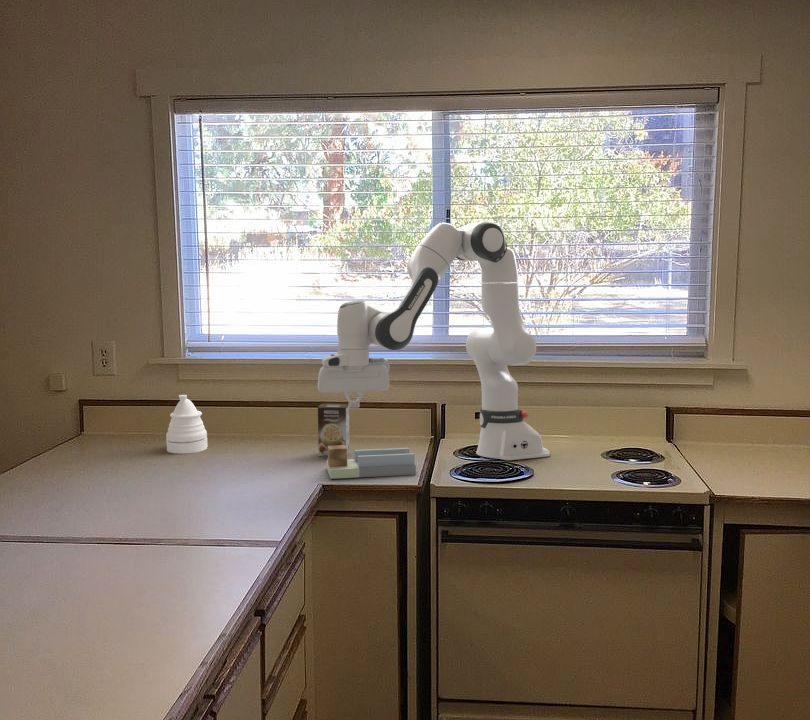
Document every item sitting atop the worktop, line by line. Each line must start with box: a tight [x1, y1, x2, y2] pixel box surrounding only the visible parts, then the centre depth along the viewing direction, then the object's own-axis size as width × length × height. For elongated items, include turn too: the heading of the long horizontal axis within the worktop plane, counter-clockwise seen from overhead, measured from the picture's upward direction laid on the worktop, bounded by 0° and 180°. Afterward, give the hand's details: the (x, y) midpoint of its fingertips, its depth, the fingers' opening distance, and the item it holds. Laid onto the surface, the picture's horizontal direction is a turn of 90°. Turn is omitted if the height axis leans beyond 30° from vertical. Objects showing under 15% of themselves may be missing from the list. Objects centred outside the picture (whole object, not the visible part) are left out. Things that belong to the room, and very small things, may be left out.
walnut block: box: [327, 445, 348, 467], centre depth 223 cm, size 5×5×5 cm
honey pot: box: [165, 394, 209, 455], centre depth 256 cm, size 13×13×18 cm
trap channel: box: [325, 447, 417, 480], centre depth 225 cm, size 24×12×6 cm, turn 101°
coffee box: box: [317, 403, 350, 457], centre depth 245 cm, size 9×6×16 cm
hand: (354, 407), depth 223 cm, fingers closed
